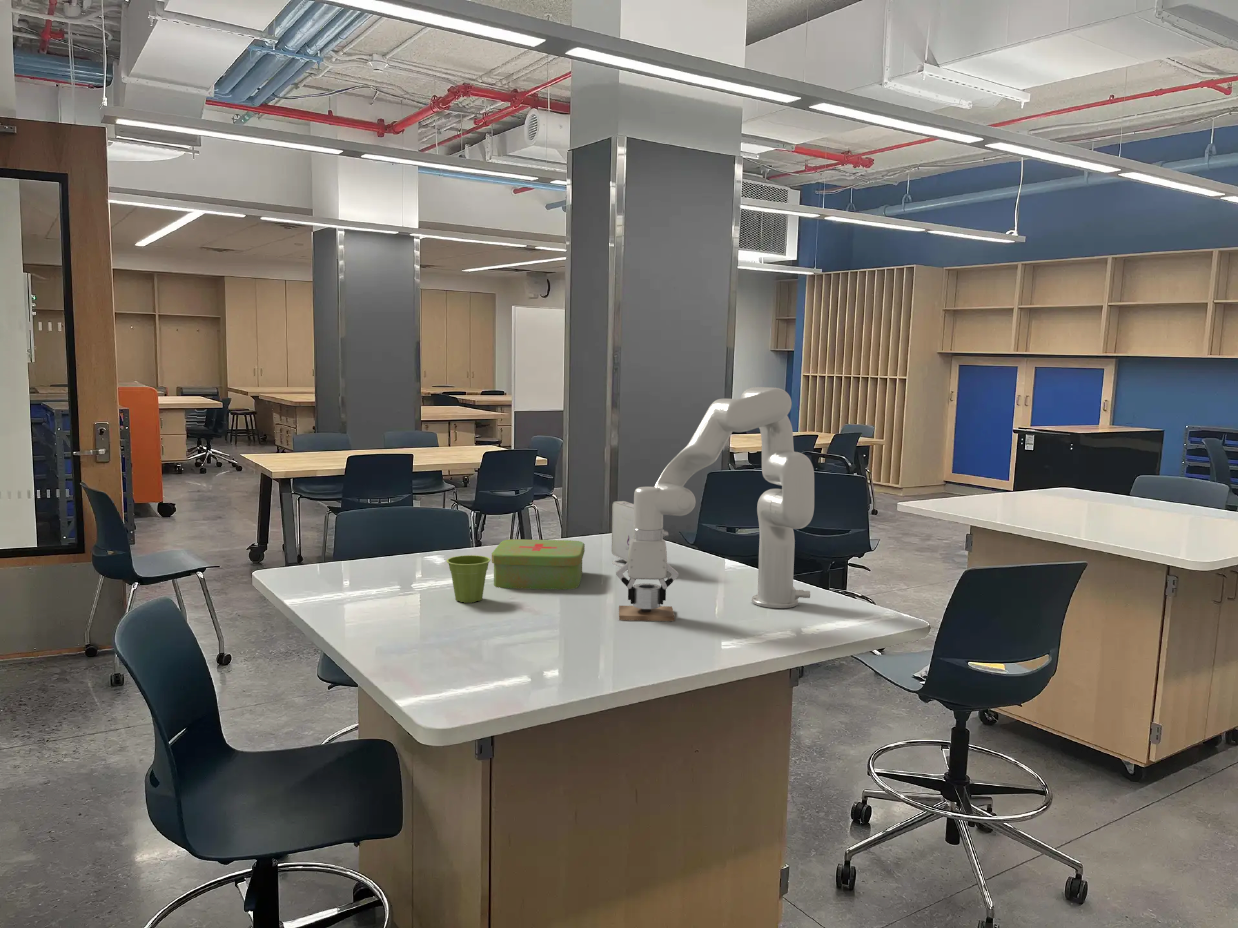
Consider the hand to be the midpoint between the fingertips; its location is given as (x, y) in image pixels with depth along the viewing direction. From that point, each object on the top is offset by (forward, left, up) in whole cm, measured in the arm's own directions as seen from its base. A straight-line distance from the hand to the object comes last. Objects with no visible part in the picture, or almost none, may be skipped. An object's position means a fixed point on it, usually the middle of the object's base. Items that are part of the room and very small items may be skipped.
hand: (646, 602), depth 232 cm
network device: (+2, -60, -4) cm, 60 cm away
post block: (0, 0, -3) cm, 3 cm away
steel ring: (0, 0, -1) cm, 1 cm away
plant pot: (+48, -13, -4) cm, 50 cm away
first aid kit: (+31, -40, -4) cm, 51 cm away
